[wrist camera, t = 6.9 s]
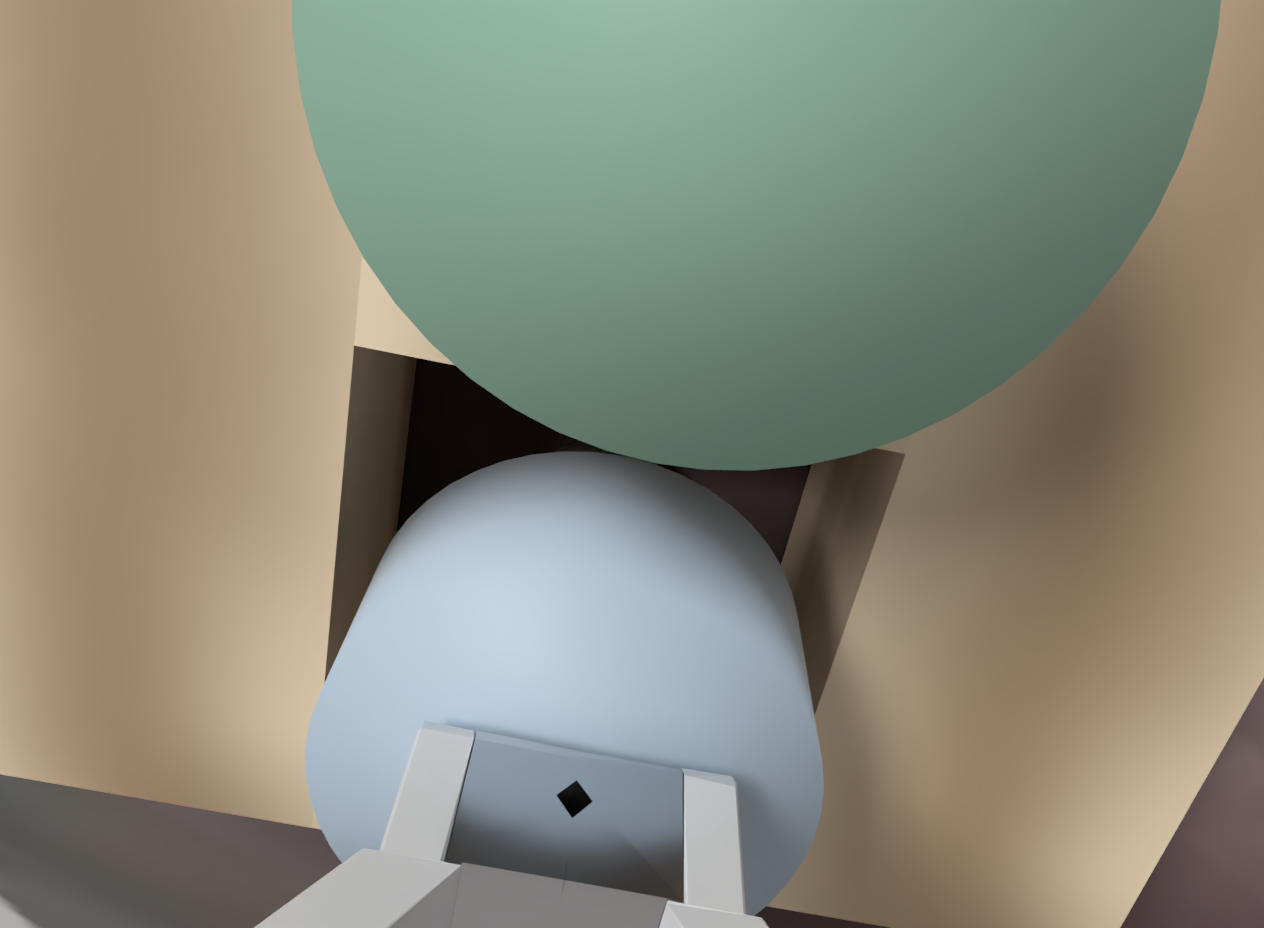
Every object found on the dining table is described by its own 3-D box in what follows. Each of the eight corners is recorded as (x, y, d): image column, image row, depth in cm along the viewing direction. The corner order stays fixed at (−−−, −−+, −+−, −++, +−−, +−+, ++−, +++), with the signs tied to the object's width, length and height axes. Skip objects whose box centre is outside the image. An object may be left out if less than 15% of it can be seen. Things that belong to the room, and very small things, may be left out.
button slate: (815, 376, 15) (890, 631, 10) (729, 668, 17) (752, 1003, 12) (450, 303, 15) (323, 525, 9) (411, 609, 17) (290, 926, 12)
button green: (1035, -236, 10) (1408, -387, 5) (879, 271, 13) (1024, 535, 7) (509, -360, 10) (325, -652, 5) (445, 182, 12) (269, 388, 7)
